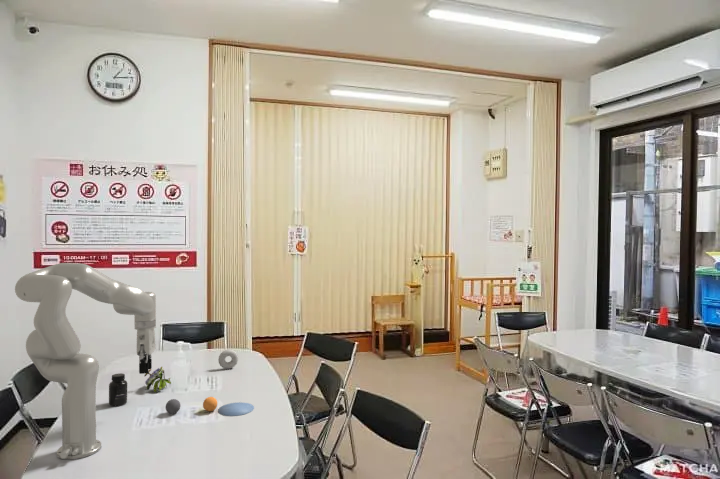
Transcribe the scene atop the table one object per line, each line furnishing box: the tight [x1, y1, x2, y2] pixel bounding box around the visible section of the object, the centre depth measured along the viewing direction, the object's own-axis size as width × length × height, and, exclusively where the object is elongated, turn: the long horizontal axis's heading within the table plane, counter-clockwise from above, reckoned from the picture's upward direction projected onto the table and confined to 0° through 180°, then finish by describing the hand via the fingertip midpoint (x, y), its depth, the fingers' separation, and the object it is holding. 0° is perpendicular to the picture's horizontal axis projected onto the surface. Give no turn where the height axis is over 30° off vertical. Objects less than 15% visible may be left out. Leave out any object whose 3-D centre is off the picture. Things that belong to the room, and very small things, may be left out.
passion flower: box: [144, 366, 172, 394], centre depth 219 cm, size 11×11×12 cm
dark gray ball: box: [165, 398, 181, 415], centre depth 190 cm, size 6×6×6 cm
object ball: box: [202, 396, 218, 412], centre depth 193 cm, size 6×6×6 cm
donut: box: [218, 348, 239, 370], centre depth 250 cm, size 10×4×10 cm, turn 112°
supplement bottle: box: [108, 373, 128, 407], centre depth 200 cm, size 7×7×12 cm
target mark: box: [217, 401, 255, 417], centre depth 195 cm, size 14×14×1 cm
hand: (145, 370), depth 188 cm, fingers open, 4 cm apart
